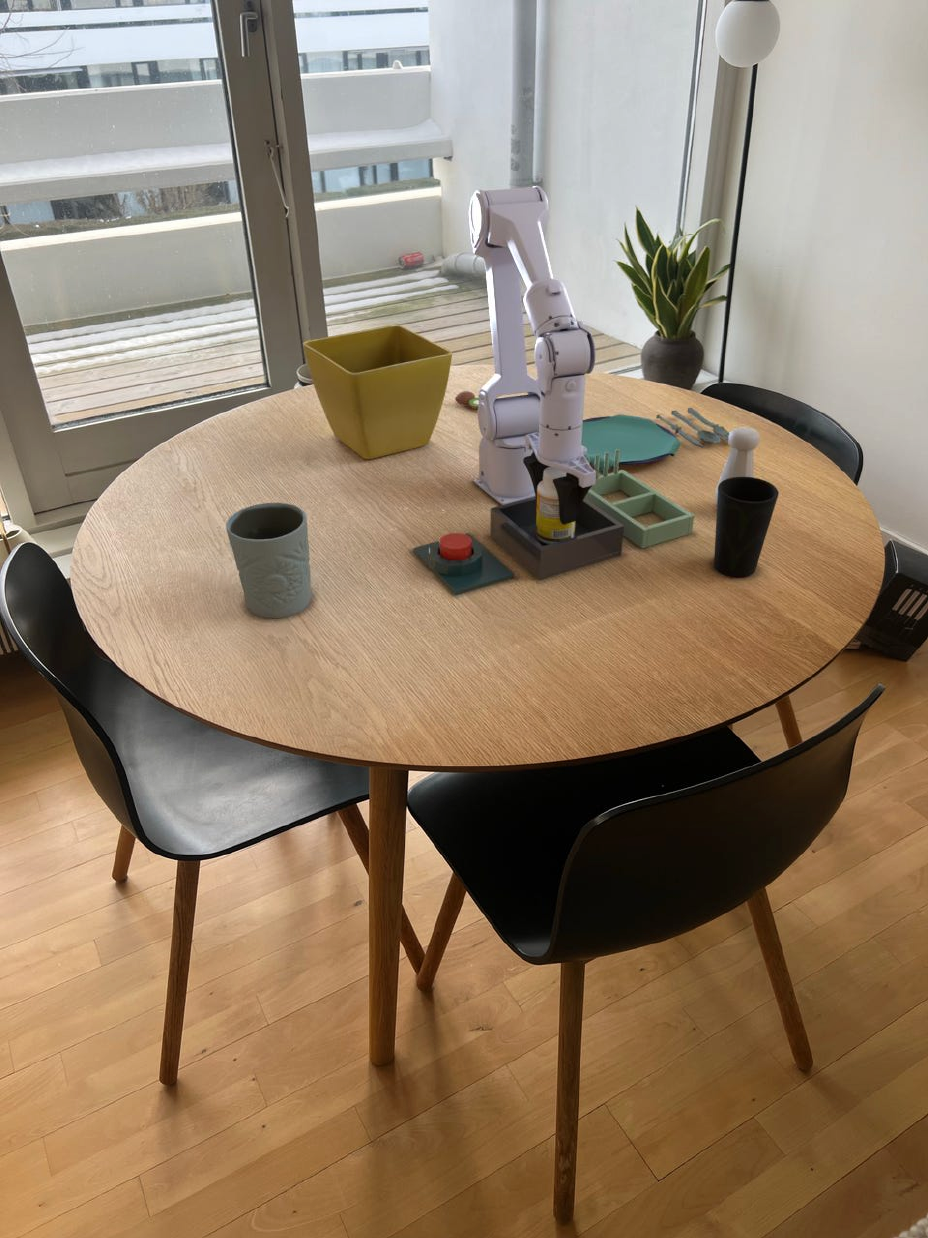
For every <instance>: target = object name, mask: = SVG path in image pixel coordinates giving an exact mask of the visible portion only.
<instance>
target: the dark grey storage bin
mask: <svg viewBox="0 0 928 1238" xmlns="http://www.w3.org/2000/svg"><path fill="white" fill-rule="evenodd" d="M536 514H537V501H536V496H535V497H531V498H527V499H523V500H520V501H516V502H512V503H508V504H505V505H501V504H500V505H498V506H494V507H490V520H489V521H490V527H489V528H490V529H489V530H490V539H491V540H493V541H494V542H495V543H496V544H498V546H500V547H501V548H502V549H503V550H504V551H505V552H507V553H508V554H509V555H510V556H511V557H512V558H513V559H515V560H516V561H517V562H518V563H519V564H520V565H521V566H522V567H524V568H525V570H526V571H528V572H529V573H530V574H531V575H533V576H534V577H535V578H536V579H537V580H538V581H543V580H546V579H549V578H552V577H556V576H559V575H562V574H566V573H569V572H572V571H576V570H578V569H581V568H585V567H588V566H591V565H595V564H598V563H601V562H605V561H608V560H611V559H615V558H618V557H621V556H622V551H623V541H624V535H623V533H624V525H622V524H621V523H619V522H618V521H617V520H615V519H614V518H612V517H611V516H610V515H608V514H607V513H605V512H604V511H603V510H601V509H600V508H598V507H597V506H596V505H594V504H593V503H591V502H590V501H589V500H587V499H586V498H584V499H583V502H582V504H581V506H580V509H579V512H578V515H577V518H576V521H575V535H574V537H573V538H570V539H566V540H563V541H559V542H556V543H552V544H547V543H544V542H542V541H541V540H539V539H538V537H537V535H536Z"/></svg>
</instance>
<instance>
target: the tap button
mask: <svg viewBox="0 0 928 1238" xmlns="http://www.w3.org/2000/svg"><path fill="white" fill-rule="evenodd" d="M465 534H466V533H460V532H452V533H447V534H444V535H442V536H441V537H440V539H439V540H438V541H439V542H440V556H441V557H442V558H444V559H447V560H459V561H460V560H464V559H467V558H469V557H470V556H471V555H472V540H471V538H470V537H469V536H467V535H465Z"/></svg>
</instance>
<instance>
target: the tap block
mask: <svg viewBox="0 0 928 1238" xmlns="http://www.w3.org/2000/svg"><path fill="white" fill-rule="evenodd" d="M464 534H465V535H467V536H469V537H470V538H471V540H472V555H471V556H470V557H469V558H467V559H464V560H460V561H459V560H447V559H444V558H442V557H441V556H440V542H439V541H440V540H438V541H434V542H431V543H427V544H423V545H419V546H416V547H412V552H413V554H415V555H416V557H417V558H418V559H419V560H420V561H422V563H423V564H424V565H426V567H427V568H428V569H429V570H430V571H431V572H432V573H433V574H434V575H435V576H436V577H437V578H438V579H439V580H440V581H441V582H442V583H443V584H444V585H445V586H446V587H447V588H448V589H449V591H450V592H452V593H453V594H454V596H458V595H462V594H465V593H468V592H471V591H474V590H478V589H482V588H484V587H488V586H491V585H495V584H498V583H501V582H505V581H508V580H512V579H514V575H515V574H514V572H513V571H512V570H511V569H509V568H508V567H507V566H506V565H505V564H503V563H502V562H501V560H499V559H498V558H497V557H496V556H495V555H494V554H493V553H491V552H490V551H489V550H488V549H487V548H486V547H485V546H484V545H482V544H481V543H480V542H479V541H478V540H477V539H476V538H475V537H474V536H472V535H471V534H470V533H469V532H467V533H464Z"/></svg>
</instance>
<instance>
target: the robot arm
mask: <svg viewBox="0 0 928 1238" xmlns="http://www.w3.org/2000/svg"><path fill="white" fill-rule="evenodd" d="M549 216H550V207H549V200H548V197H547V194H546V192H545V191H544V189H543V187H541V185H533V186H531V187H518V188H502V189H490V190H483V189H477V190H476V191H474V193H473V195H472V196H471V199H470V203H469V208H468V217H469V218H468V219H469V231H470V241H471V246H472V253H473V254H474V255H475V256H477V257H480V258H482V259H483V263H484V269H485V275H486V288H487V298H488V308H489V311H488V312H489V322H490V333H491V342H492V345H491V346H492V356H493V367H494V375H493V376H492V377H491V379H490V380H489V379H488V381H487V382H486V383H485V384H484V385H483V386H482V387H481V389H480V390H479V391H478V398H479V408H478V409H477V422H478V428H479V432H480V435H481V436H482V437H481V439H480V442H479V445H478V478H475V479H474V480H473V483H474V484H476V485H477V486H478V487H479V488H480V489H482V490H483V491H484V492H485V493H486V494H488V495H489V496H490V497H491V498H493V499H494V500H495V501H496V502H497V503H499V504H500V506H501V505H505V504H508V503H512V502H516V501H520V500H523V499H527V498H531V497H535V496H536V501H537V487H538V484H539V483H540V482H541V481H542V480H543V473H544V470H545V469H546V468H548V467H553V468H555V469H558V470H561V471H564V472H567V473H566V477H565V476H564V477H560V478H556V479H553V484H554V486H555V488H556V491H557V495H558V500H559V516H560V521H561V523H562V524H568V523H571V522H575V521H576V518H577V515H578V512H579V509H580V506H581V504H582V502H583V499H584V498H585V496H586V494H587V493H588V491H589V490H590V488H591V487H592V486H593V485H595V481H596V471H595V470H594V469H593V468H592V467H591V465H590V462H589V463H588V461H587V460H586V458H585V456H584V454H586V453H587V448H585V447H584V446H582V445H581V440H582V426H583V420H584V411H585V410H584V407H585V394H586V379H587V376H586V374H587V375H589V374H591V373H592V372H593V371H594V368H595V364H596V345H595V340H594V337H593V334H592V332H591V330H590V329H589V328H588V327H587V326H585V325H584V322H583V321H582V320H581V321H579V320H578V319H577V316H576V313H575V310H574V308H573V304H572V302H571V299H570V297H569V294H568V290H567V287H566V286H565V284H564V283H563V281H560V280H558V279H555V278H554V274H553V271H552V267H551V262H550V258H549V254H548V250H547V246H546V241H545V236H546V232H547V227H548V222H549ZM521 277H522V279H523V282H524V284H525V286H526V289H527V290H526V292H525V293H524V295H523V300H522V287H521ZM523 305H524V308H525V311H526V315H527V317H528V320H529V324H530V328H531V330H532V333H533V336H534V338H535V346H534V350H533V351H534V352H533V353H534V355H533V356H534V364H535V369H536V378H535V377H533V376H532V375H530V374H529V373H528V364H527V351H526V338H525V326H524V325H525V324H524V311H523ZM524 393H525V394H524ZM526 393H527V394H526ZM516 394H521V395H516ZM508 395H513V396H508ZM502 396H506V397H502Z"/></svg>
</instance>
